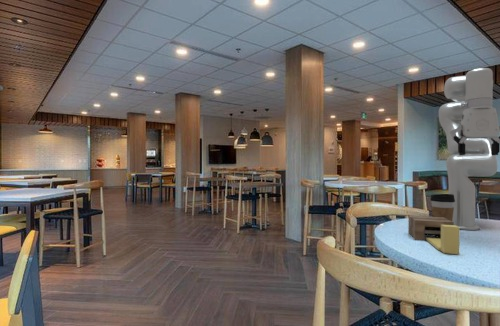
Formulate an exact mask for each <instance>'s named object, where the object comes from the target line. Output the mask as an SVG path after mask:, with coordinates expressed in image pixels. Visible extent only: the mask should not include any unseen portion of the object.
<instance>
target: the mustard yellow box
mask: <svg viewBox="0 0 500 326" xmlns="http://www.w3.org/2000/svg"><path fill="white" fill-rule="evenodd" d="M425 240H426V241H427V242H428V243H429V244H431V245H432V246H433V247H434V248H436V249H437V250H438V251H441V252H442V253H443V254H453V255H460V229H459V227H458V226H456V225H441V238H438V237H431V236H430V237H429V236H428V237H427V236H425Z"/></svg>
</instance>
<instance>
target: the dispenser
mask: <svg viewBox="0 0 500 326" xmlns="http://www.w3.org/2000/svg"><path fill="white" fill-rule="evenodd" d="M441 225H454V222H452V221H450V220H448V219H446V218H444V217H432V216H426V215H425V216H424V215H423V216H421V215H408V235H409V236H410V237H411V238H413V239H414V240H415V241H425V240H426V236H428V237H429V236H430V237H431V236H432V237H433V236H434V237H435V238H441Z"/></svg>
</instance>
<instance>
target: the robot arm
mask: <svg viewBox="0 0 500 326" xmlns="http://www.w3.org/2000/svg"><path fill="white" fill-rule="evenodd" d="M493 74H494V73H493V70H492V69H491V68H489V67H479V68H474V69H471V70H469V71H468V72H466V74H465V75H457V76H451V77H449V78H448V79H447V80H445V82H444V86H443V87H444V88H443V93H444V94H443V95H444V96H445V98H446V99H449V100H451V101H453V102H448V103H444V104H442V105H441V106H440V107H439V109H438V119H439V124H440V126H441V128H442V129H443V131H444V132H445V136H446V137H445V138H446V143H447V144H446V145H447V150H448V153H449V154H450V155H449V156H448V157H447V158H446V161H445V165H446V172H447V179H448V194H452V195H454V199H455V202H454V205H453V207H454V211H453V219H452V222H454V225H456V226H458V227H459V230H463V231H464V230H465V231H478V230H481V227H480V225H477V224H476V186H475V184H474V182H472V180H471V179H470V178H469V177H491V176H494V175H495V174H496V173H497V172H498V160H497V156H499V153H500V125H499V119H498V113H497V109H496V107H493V102H494V101H493V99H494V97H493V93H494V91H493V87H494V79H493V78H494V77H493Z"/></svg>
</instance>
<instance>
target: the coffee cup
mask: <svg viewBox="0 0 500 326" xmlns="http://www.w3.org/2000/svg"><path fill="white" fill-rule="evenodd" d="M430 202H431V206H430V208H431V215H432V216H431V217H444V218H446V219H448V220H450V221H452V219H453V211H454V207H453V205H454V202H455V199H454V195H452V194H449V193H439V194H438V193H437V194H431V195H430Z"/></svg>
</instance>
